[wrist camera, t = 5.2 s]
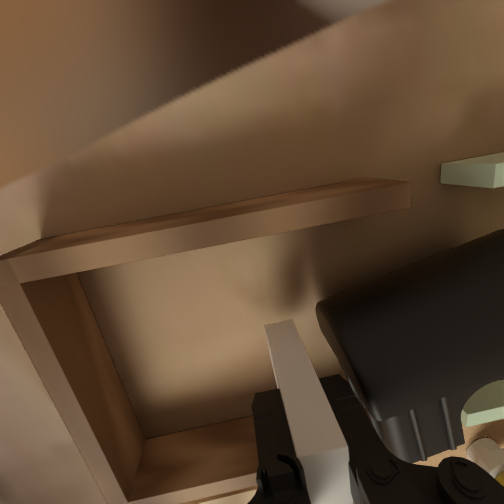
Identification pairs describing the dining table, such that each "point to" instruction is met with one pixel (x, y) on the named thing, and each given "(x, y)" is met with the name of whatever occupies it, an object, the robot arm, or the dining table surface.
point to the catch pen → (488, 176)
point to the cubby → (99, 359)
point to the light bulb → (488, 457)
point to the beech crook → (228, 497)
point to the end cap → (422, 344)
